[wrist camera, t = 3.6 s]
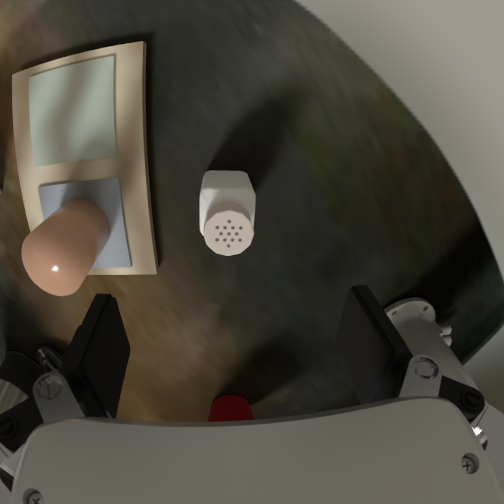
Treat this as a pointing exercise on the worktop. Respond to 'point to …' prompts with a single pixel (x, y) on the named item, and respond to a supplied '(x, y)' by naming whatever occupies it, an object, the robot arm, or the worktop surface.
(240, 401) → the plastic cup
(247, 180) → the salt shaker
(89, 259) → the peach rounded cylinder
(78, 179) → the board
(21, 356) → the milk frother
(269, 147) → the worktop surface
